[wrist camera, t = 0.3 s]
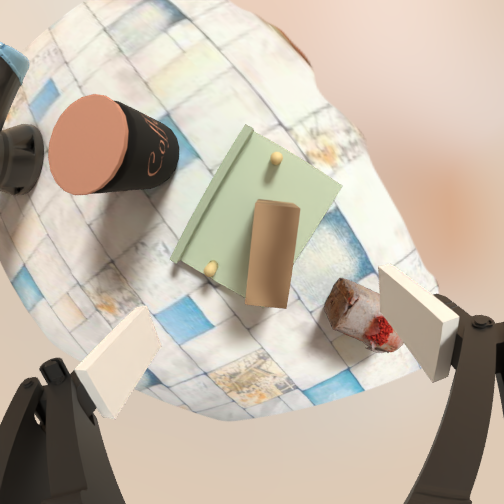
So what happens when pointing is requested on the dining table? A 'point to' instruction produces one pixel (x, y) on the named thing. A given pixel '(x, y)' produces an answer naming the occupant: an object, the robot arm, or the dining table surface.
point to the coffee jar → (110, 148)
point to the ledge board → (250, 207)
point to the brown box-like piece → (272, 253)
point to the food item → (360, 316)
